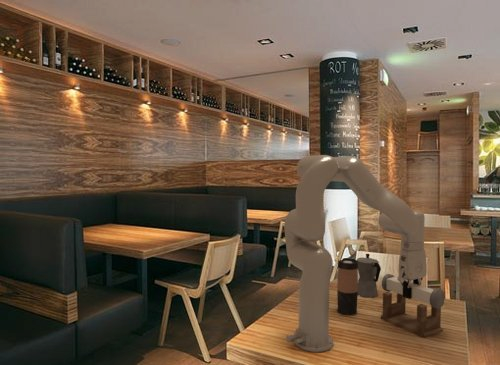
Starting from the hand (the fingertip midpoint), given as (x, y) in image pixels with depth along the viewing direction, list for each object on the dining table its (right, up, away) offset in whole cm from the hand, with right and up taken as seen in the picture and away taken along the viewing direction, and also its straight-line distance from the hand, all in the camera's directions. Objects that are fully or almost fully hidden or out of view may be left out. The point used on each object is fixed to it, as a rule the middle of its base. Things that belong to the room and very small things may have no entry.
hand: (411, 296), depth 134 cm
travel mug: (-20, -10, +12) cm, 25 cm away
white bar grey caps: (0, -1, 0) cm, 1 cm away
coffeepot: (-6, -9, +31) cm, 33 cm away
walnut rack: (0, -10, 0) cm, 10 cm away
